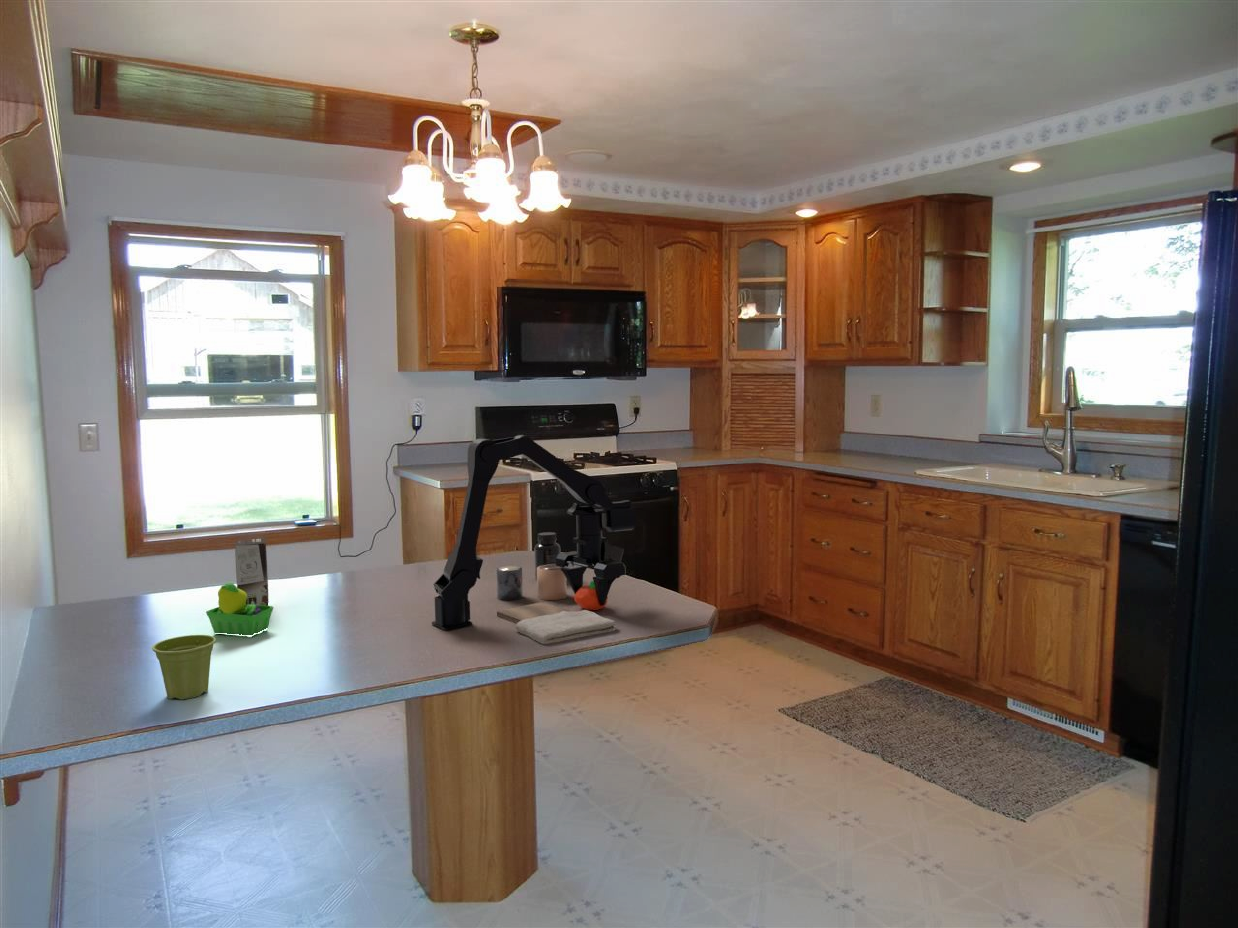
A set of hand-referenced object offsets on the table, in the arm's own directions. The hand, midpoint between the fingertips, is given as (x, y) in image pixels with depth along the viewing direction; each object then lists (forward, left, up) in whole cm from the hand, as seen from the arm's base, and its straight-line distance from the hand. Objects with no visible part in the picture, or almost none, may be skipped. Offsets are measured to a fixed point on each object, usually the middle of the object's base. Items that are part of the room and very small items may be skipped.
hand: (590, 601), depth 193 cm
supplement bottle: (+10, +31, -2) cm, 33 cm away
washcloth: (-14, -11, -2) cm, 18 cm away
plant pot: (-83, +2, -2) cm, 83 cm away
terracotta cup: (0, +15, -2) cm, 15 cm away
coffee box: (-58, +50, -2) cm, 77 cm away
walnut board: (-13, +3, -2) cm, 13 cm away
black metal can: (-8, +21, -2) cm, 23 cm away
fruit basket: (-66, +33, -2) cm, 74 cm away
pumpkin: (0, 0, -2) cm, 2 cm away
